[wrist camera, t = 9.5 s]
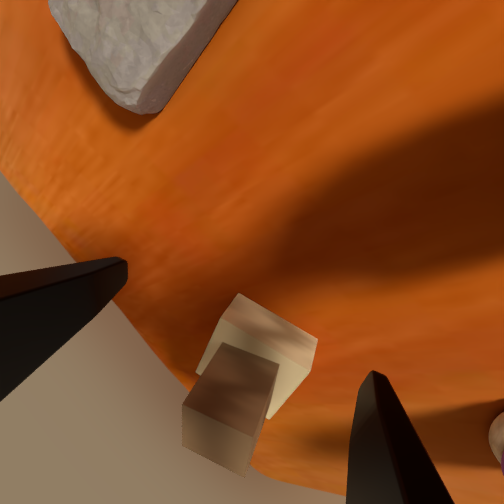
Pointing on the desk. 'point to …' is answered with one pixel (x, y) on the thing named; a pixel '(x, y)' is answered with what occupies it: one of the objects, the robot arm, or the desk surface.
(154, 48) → the stone block
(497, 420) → the stacking toy
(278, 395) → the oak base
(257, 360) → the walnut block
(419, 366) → the desk surface
